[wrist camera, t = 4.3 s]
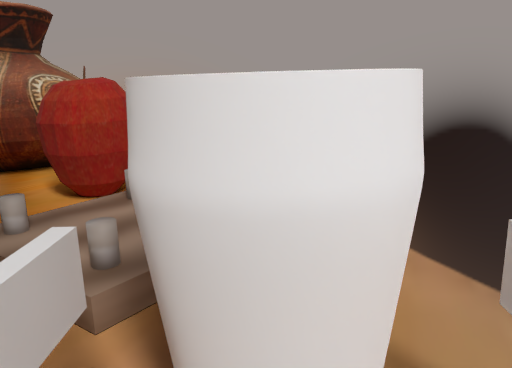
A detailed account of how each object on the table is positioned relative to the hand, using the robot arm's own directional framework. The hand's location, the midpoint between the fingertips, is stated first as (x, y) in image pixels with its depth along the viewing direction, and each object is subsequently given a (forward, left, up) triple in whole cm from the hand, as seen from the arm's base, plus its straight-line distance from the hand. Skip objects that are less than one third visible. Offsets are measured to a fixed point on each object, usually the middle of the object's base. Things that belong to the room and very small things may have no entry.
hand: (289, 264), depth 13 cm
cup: (-1, +1, -7) cm, 7 cm away
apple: (-36, +17, -7) cm, 40 cm away
